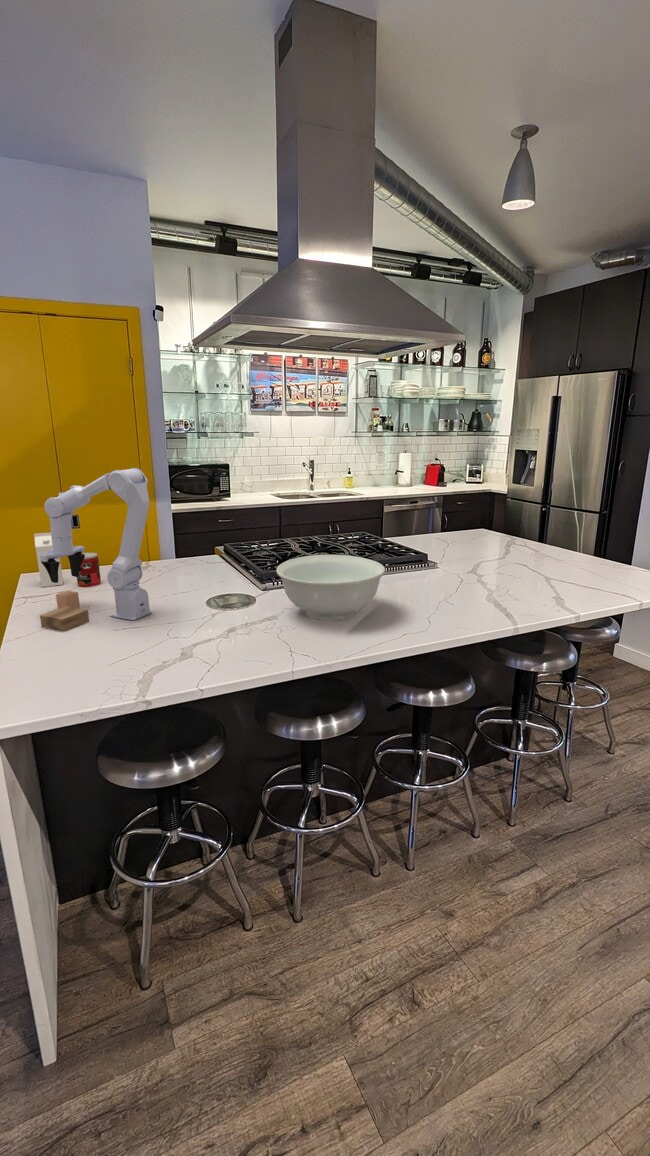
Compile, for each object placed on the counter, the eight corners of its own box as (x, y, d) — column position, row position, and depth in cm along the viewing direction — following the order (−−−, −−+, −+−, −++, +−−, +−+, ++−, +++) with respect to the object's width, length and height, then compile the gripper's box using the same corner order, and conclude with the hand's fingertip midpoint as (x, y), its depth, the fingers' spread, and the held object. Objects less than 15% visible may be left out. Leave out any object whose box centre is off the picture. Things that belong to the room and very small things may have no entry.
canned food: (73, 585, 200) (69, 556, 197) (91, 580, 206) (87, 551, 203) (87, 588, 196) (83, 558, 193) (105, 582, 203) (102, 553, 200)
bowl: (377, 635, 150) (378, 584, 146) (264, 627, 157) (262, 578, 153) (388, 599, 181) (389, 556, 177) (293, 594, 187) (292, 552, 183)
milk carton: (42, 582, 204) (34, 532, 199) (63, 580, 207) (56, 530, 202) (41, 587, 198) (33, 535, 192) (63, 585, 200) (56, 533, 195)
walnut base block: (89, 622, 163) (87, 609, 162) (64, 632, 155) (62, 619, 154) (67, 618, 167) (65, 606, 165) (41, 628, 159) (39, 615, 158)
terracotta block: (80, 608, 175) (77, 592, 173) (68, 613, 171) (66, 596, 169) (69, 607, 176) (67, 590, 175) (58, 611, 172) (55, 594, 171)
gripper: (71, 530, 175) (74, 571, 179) (31, 538, 162) (35, 582, 166) (88, 533, 172) (90, 575, 176) (48, 542, 160) (52, 586, 163)
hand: (65, 579), depth 171 cm, fingers open, 7 cm apart
